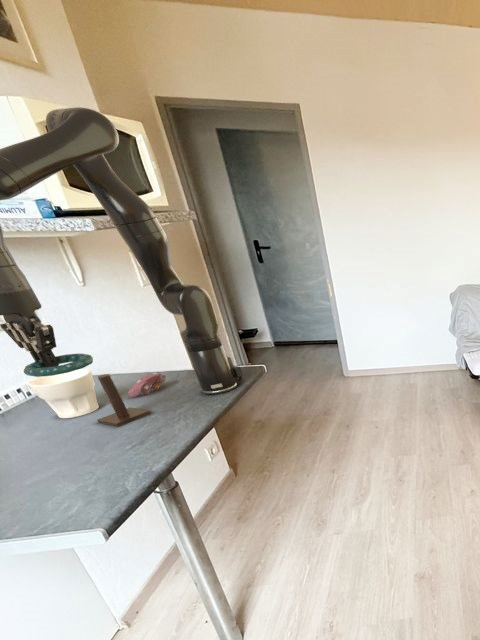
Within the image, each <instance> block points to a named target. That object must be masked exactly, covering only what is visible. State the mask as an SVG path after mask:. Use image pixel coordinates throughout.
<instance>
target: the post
mask: <svg viewBox="0 0 480 640" xmlns="http://www.w3.org/2000/svg"><path fill="white" fill-rule="evenodd" d="M97 379H98V381H99V383H100V386H101V387H102V389H103V391H104V393H105V395H106V397H107V399H108V401H109V403H110V405H111V407H112V408H113V410H114V412H115V413H114V412H113V413H112V414H108V415H106V416H103V417H101V418H98V419H97V420H96V421H97V423H98V424H102V425H107V426H112V427H117V428H119V427H121V426H124V425H126V424H129V423H131V422H135V421H136V420H139V419H140V418H144V417H146V416H148V415H150V414H151V412H150V410H146V409H141V408H135V407H126V404H125V402H124V401H123V398H122V397H121V395H120V393H119V391H118V389H117V387H116V385H115V382H114V381H113V379H112V377H111V375H110V374H109V373H105V374H100V375H98V376H97Z"/></svg>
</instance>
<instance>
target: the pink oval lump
mask: <svg viewBox="0 0 480 640" xmlns="http://www.w3.org/2000/svg"><path fill="white" fill-rule="evenodd" d="M166 376H167V375H165V374H162V373H159V372H158V373H157V372H153V373H148V374H146V375H143V376H142V377H141V378H140V379H137V381H136V382H135V383H133V386H132V387H131V388H130V389H129V391H128V396H129V397H130V398H136V397H139V396H140V395H141V394H144V395H149V394H151V392H152V391H153V390H154V391H158V390H159V389H160V388H161V386H162V384H163V383H164V382H165V381H166Z"/></svg>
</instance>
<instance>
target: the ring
mask: <svg viewBox="0 0 480 640" xmlns="http://www.w3.org/2000/svg"><path fill="white" fill-rule="evenodd" d="M55 357H56V359H57V361H58V362H59V365H58V366H54V367H48V368H46V367H45V366H44V364H43V363H42V361H41V360H39V361H36V362H35V361H34V362H31V363H29V364H27V365H25V366H24V369H23V374H25V375H26V376H29V377H36V378H38V377H42V376H53V375H58V374H63V373H68V372H72V371H75V370H78V369H85V368H87V367H88V366H90V365H92V364H93V362H94V357H93V356H92V355H91V354H87V353H68V354H61V355H55Z"/></svg>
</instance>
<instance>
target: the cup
mask: <svg viewBox="0 0 480 640" xmlns="http://www.w3.org/2000/svg"><path fill="white" fill-rule="evenodd" d="M27 385H28V386H29V388H30V389H31V390H32V391H33V392H34V393H35V395H36V396H37V397H38V398H39V399H40V400H43V401H44V402H45V403H46V404H47V405H48V406H49V407H50V408H51V409H52V410H53V411H54V412H55V414H56V415H57V416H58V418H60V419H72V418H79V417H82V416H85V415H88V414H90V413H93V412H95V411H97V410H98V409H99V408H100V405H99V404H98V400H97V395H96V391H95V386H96V384H95V380H94V377H93V374H92V371H91V370H90V369H88V368H82V369H78V370H75V371H72V372H68V373H63V374H58V375H53V376H42V377H36V378H33V379H31V380H29V381H28V382H27Z"/></svg>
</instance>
